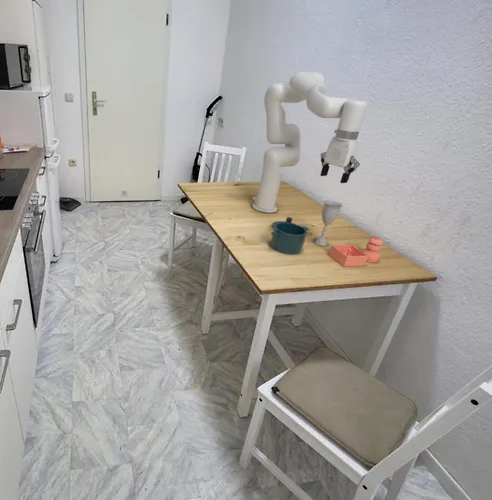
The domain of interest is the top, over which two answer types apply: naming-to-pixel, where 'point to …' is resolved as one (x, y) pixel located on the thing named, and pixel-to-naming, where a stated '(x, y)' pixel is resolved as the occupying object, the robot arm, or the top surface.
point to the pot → (288, 238)
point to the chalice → (328, 218)
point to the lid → (283, 221)
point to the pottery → (357, 253)
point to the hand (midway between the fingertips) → (333, 179)
